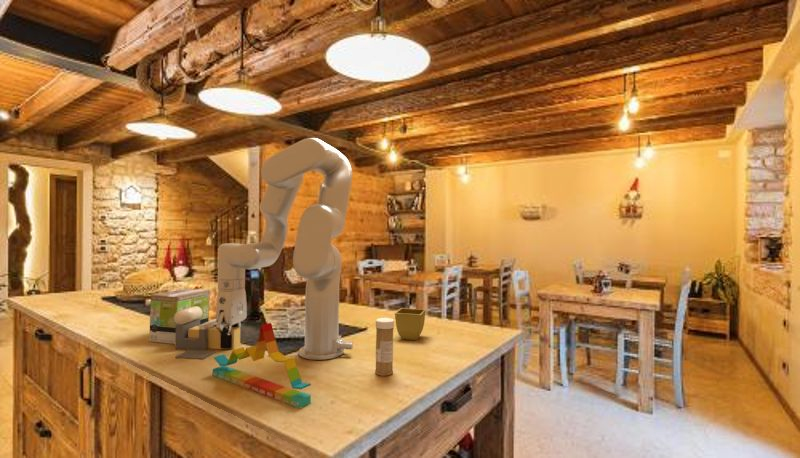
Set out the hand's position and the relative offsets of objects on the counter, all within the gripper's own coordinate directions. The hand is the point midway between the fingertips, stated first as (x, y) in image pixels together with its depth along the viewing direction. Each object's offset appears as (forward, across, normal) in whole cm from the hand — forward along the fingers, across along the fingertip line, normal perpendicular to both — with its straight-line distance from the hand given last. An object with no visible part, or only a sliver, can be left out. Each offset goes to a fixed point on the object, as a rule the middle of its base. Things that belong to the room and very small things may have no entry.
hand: (230, 345), depth 119 cm
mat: (+1, -8, +6) cm, 10 cm away
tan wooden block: (+1, 0, +5) cm, 5 cm away
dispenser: (+1, 0, +10) cm, 10 cm away
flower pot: (+1, +18, -53) cm, 56 cm away
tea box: (+1, +8, +21) cm, 23 cm away
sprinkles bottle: (+1, -15, -48) cm, 51 cm away
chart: (+1, -28, -22) cm, 36 cm away
